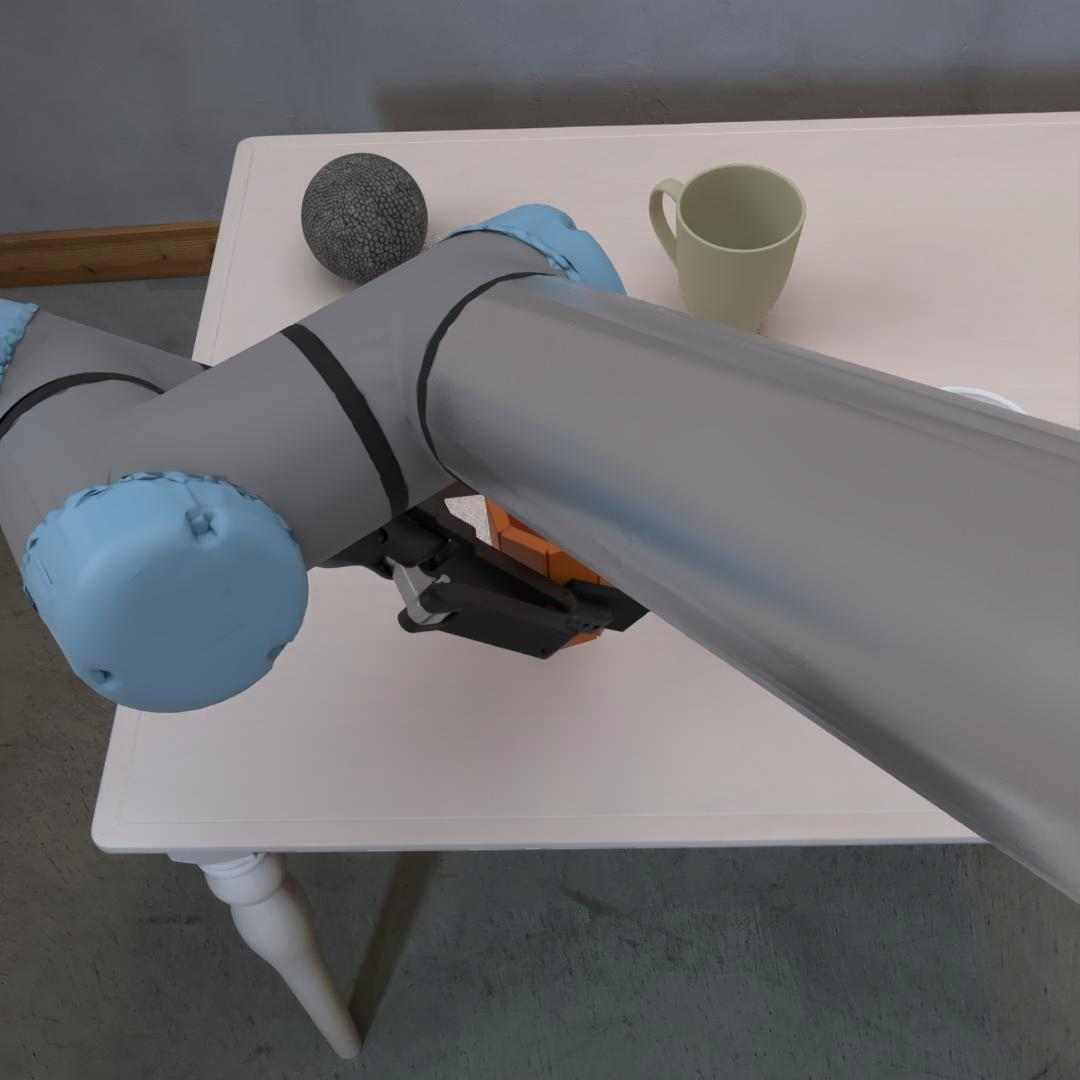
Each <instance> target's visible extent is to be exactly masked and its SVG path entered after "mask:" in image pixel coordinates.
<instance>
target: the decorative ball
mask: <svg viewBox="0 0 1080 1080" xmlns="http://www.w3.org/2000/svg"><path fill="white" fill-rule="evenodd" d="M301 201H302V202H301V209H300V222H301V223H300V224H301V230H302V233H303V237H304V239H305V243H306V244H307V246H308V248H309V250H310V252H311V253H312V255H313V256H314V258H315V259H316V260H317V261H318V262H319V263H320V264H321V265H322V267H324V268H325V269H326V270H327V271H328V272H330V273H332V274H333V275H335V276H337V277H339V278H341V279H343V280H346V281H348V282H352V283H358V284H366V283H368V282H370V281H372V280H374V279H376V278H377V277H379V276H381V275H383V274H385V273H386V272H388V271H390V270H392V269H394V268H395V267H397V266H399V265H401V264H403V263H405V262H406V261H408V260H410V259H412V258H414V257H415V256H417V255H419V254H421V251H422V249H423V248H424V245H425V242H426V239H427V235H428V229H429V213H428V207H427V201H426V200H425V197H424V194H423V192H422V190H421V188H420V186H419V184H418V182H417V181H416V180H415V178H414V177H413V176H412V174H410V173H409V172H408V170H406V169H405V168H404V167H403V166H402V165H400V164H399V163H397V162H395V161H394V160H392V159H390V158H388V157H385V156H384V155H380V154H376V153H370V152H353V153H348V154H343V155H341V156H339V157H336V158H334V159H333V160H330V161H329V162H327V163H326V164H324V165H323V166H322V167H321V168H320V169H319V170H318V171H317V172H316V173H315V175H314V176H313V177H312V178H311V180H310V182H309V183H308V185H307V187H306V189H305V192H304V194H303V198H302V200H301Z"/></svg>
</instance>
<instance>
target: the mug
mask: <svg viewBox="0 0 1080 1080" xmlns="http://www.w3.org/2000/svg"><path fill="white" fill-rule="evenodd" d="M664 193H665V194H667V196H669V197H670V198H671V199H672V200H673V202H674V203H675V234H674V232H673V231H672V228H671V227H670V225H669V223H668V221H667V217H666V215H665V211H664V204H663V202H664V199H663V198H664ZM648 215H649V220H650V224H651V227H652V229H653V231H654V233H655V236H656V238H657V239H658V241H659V243H660V245H661V246H662V247H663V248H662V249H664V251H665V253H666V254H667V256H668V258H669V259H670V261H671V262H672V264H673V266H674V267H675V269H676V270H677V278H678V279H677V280H678V283H679V287H680V291H681V294H682V297H683V298H682V299H683V300H684V303H685V306H686V309H687V312H688V314H690V315H693V316H696V317H700V318H703V319H706V320H710V321H713V322H717V323H720V324H723V325H727V326H730V327H733V328H737V329H740V330H743V331H747V332H750V333H754V334H756V333H757V331H758V329H759V328H760V327H761V325H762V323H763V322H764V321H765V320H766V318H767V316H768V315H769V314H770V312H771V310H772V309H773V307H775V305H776V303H777V301H778V299H779V298H780V296H781V294H782V291H783V290H784V288H785V285H786V283H787V280H788V278H789V276H790V271H791V269H792V266H793V261H794V259H795V255H796V251H797V248H798V244H799V241H800V237H801V235H802V231H803V228H804V224H805V220H806V217H807V205H806V201H805V197H804V196H803V193H802V192H801V191H800V189H799V188H798V187H797V185H796V184H795V183H794V182H793V181H792V180H791V179H790V178H788V177H786V176H785V175H783V174H781V173H780V172H779V171H776V170H774V169H771V168H768V167H766V166H761V165H757V164H752V163H726V164H719V165H716V166H715V165H714V166H712V167H709V168H707V169H706V168H705V169H704V170H702V171H700V172H698V173H697V174H696V173H695V175H693V176H692V177H690V179H688V180H687V181H686V183H684V184H683V182H680V181H679V180H677V179H676V178H672V177H671V178H666V179H662V180H661V181H660V182H659V183H657V184H656V185H655V186H654V187H653V188H652V190H651V192H650V195H649V199H648Z"/></svg>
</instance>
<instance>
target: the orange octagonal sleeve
mask: <svg viewBox="0 0 1080 1080" xmlns="http://www.w3.org/2000/svg"><path fill="white" fill-rule="evenodd" d="M483 497H484V496H483ZM484 503H485V510H486V517H487V523H488V524H487V525H488V531H489V537H490V543H491V544H490V545H491V546H493V547H494V548H496V549H498V550H500V551H502V552H503V553H505V554H507V555H509V556H510V557H512V558H514V559H516V560H517V561H519V562H521V563H523V564H524V565H526V566H528V567H530V568H532V569H533V570H535V571H537V572H539V573H540V574H542V575H544V576H546V577H547V578H549V579H551V580H553V581H555V582H556V583H558V584H560V585H562V586H564V585H565V584H566V583H567V582H568V581H570V580H571V579H572V578H574V579H578V580H583V581H587V582H591V583H597V584H601V585H605V586H610V587H614V588H617V587H615V586H614V585H612V584H611V583H609V582H608V581H606V580H605V579H603V578H602V577H600V576H599V575H598V574H596V573H595V572H593V571H592V570H590V569H589V568H587V567H586V566H584V565H583V564H581V563H580V562H579V561H577V560H576V559H574V558H573V557H571V556H570V555H568V554H567V553H565V552H564V551H562V550H561V549H560V548H558V547H557V546H555V545H554V544H552V543H551V542H549V541H548V540H546V539H545V538H544V537H542V536H541V535H539V534H538V533H536V532H535V531H533V530H532V529H530V528H529V527H527V526H526V525H525V524H523V523H522V522H520V521H519V520H517V519H516V518H514V517H513V516H511V515H510V514H508V513H507V512H506V511H504V510H503V509H501V508H500V507H498V506H497V505H495V504H494V503H492V502H491V501H489V500H488V499H487V498H485V497H484ZM604 631H605V629H604V628H602V629H601V630H599V631H598V632H597V633H595V634H592V635H590V634H585V633H580V634H579V635H578V636H576V637H575V638H574V639H573V640H571V641H570V642H569V643H568V644H566V645H565V646H564V647H562V648H561V649H560V650H564V649H567V648H571V647H575V646H579V645H580V644H581V645H582V644H584V643H588V642H591V641H595V640H597V639H598V637H599V638H600V637H601V636H602V635H603V632H604ZM560 650H559V651H560Z"/></svg>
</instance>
